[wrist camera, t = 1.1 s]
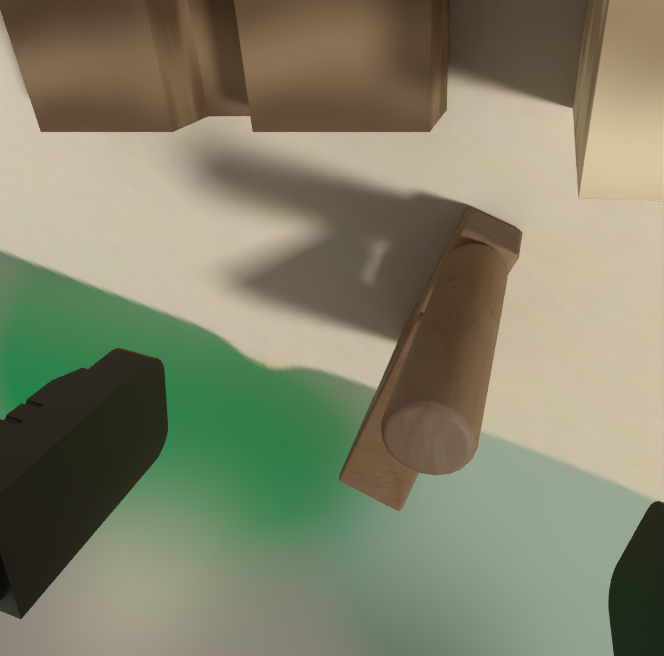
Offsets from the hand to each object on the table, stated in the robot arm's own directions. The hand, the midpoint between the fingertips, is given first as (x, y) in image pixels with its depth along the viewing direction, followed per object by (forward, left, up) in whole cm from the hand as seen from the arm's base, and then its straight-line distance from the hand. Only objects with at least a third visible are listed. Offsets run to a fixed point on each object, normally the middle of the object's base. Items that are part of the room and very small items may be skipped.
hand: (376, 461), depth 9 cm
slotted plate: (-7, -15, -27) cm, 32 cm away
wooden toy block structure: (+11, -2, -27) cm, 29 cm away
